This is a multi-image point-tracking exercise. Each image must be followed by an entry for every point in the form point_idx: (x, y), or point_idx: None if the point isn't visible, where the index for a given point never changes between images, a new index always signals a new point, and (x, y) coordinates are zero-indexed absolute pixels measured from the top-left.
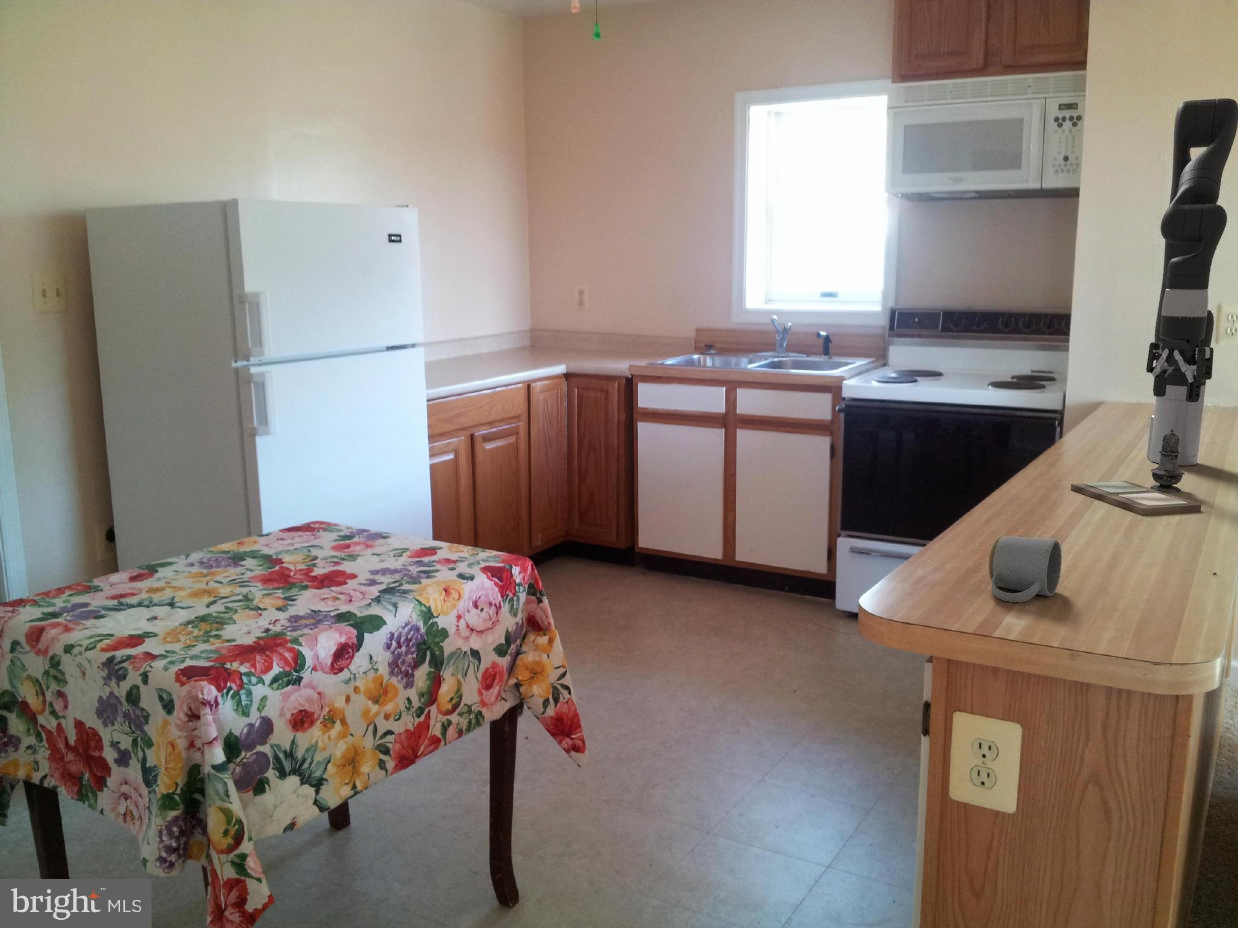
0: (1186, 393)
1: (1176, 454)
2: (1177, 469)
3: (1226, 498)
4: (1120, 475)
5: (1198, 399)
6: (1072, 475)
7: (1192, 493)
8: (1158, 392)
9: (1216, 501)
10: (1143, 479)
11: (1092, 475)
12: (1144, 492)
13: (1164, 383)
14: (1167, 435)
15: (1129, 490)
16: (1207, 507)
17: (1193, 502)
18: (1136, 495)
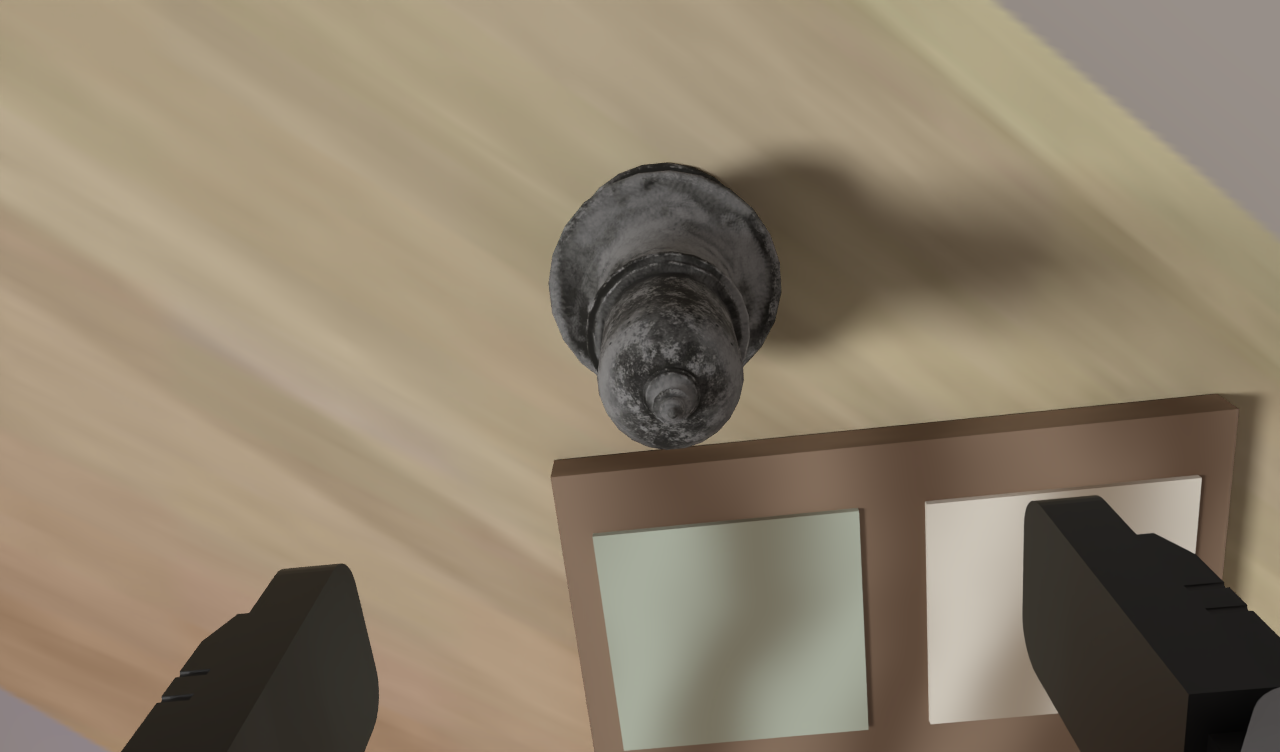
0: (1078, 741)
1: (746, 320)
2: (726, 256)
3: (978, 5)
4: (217, 303)
5: (1108, 504)
6: (222, 590)
7: (797, 148)
8: (357, 713)
9: (1034, 136)
10: (349, 220)
11: (220, 478)
12: (880, 544)
13: (280, 733)
14: (688, 440)
15: (840, 614)
16: (1151, 296)
17: (1179, 421)
18: (963, 642)
